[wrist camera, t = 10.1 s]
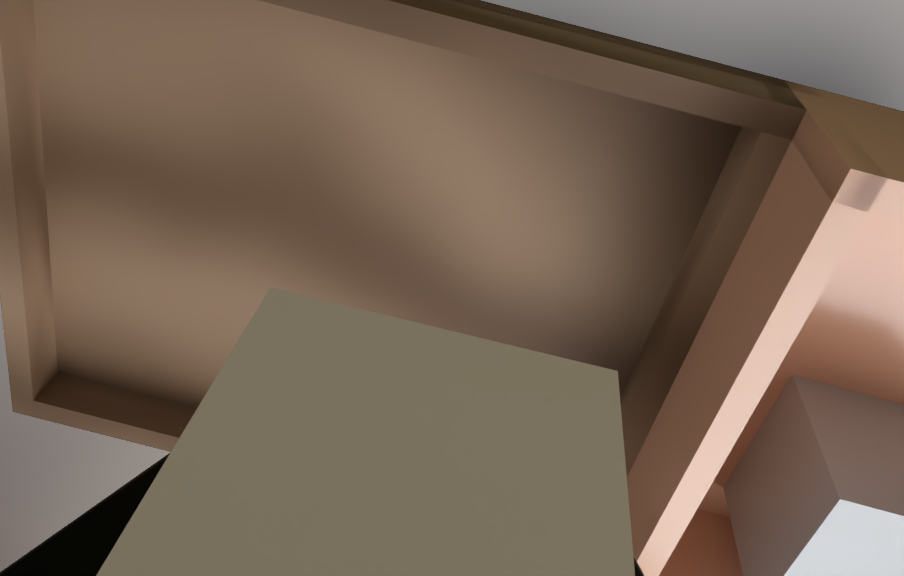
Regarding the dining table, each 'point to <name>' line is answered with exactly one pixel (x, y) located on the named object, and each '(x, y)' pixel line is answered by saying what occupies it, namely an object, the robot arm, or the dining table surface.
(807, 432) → the pale grey matte cube
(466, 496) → the beige cube
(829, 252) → the pink storage bin
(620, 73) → the parts tray
